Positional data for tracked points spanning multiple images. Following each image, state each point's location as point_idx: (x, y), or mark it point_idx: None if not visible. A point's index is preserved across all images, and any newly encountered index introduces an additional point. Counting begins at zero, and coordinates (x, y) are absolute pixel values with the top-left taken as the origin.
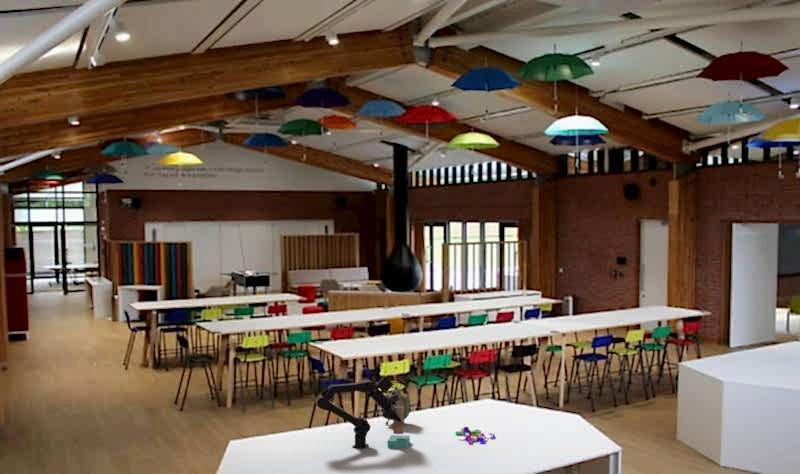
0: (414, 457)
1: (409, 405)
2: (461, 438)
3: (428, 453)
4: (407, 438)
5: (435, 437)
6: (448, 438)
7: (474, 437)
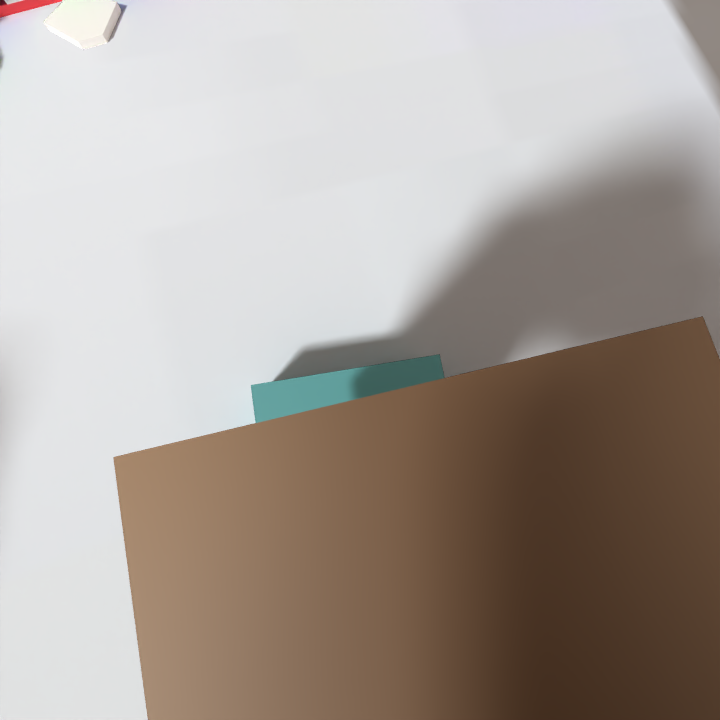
0: (590, 244)
1: None
2: (87, 18)
3: (476, 175)
4: (345, 374)
5: (76, 220)
6: (84, 118)
7: None
